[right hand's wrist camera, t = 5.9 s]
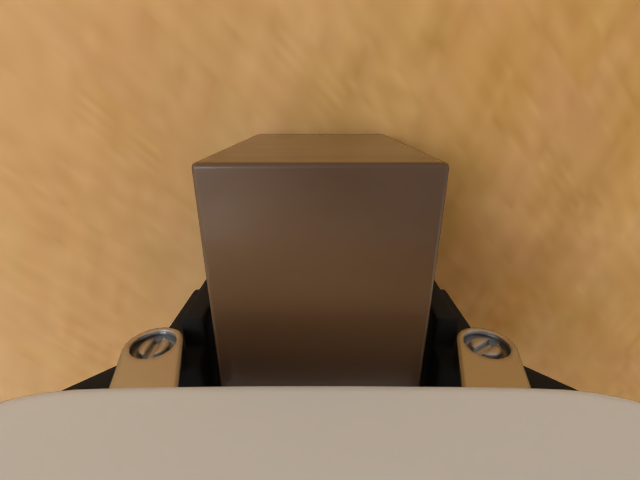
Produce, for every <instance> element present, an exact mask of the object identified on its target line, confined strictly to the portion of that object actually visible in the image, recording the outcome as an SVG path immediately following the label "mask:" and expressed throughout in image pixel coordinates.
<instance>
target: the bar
mask: <svg viewBox="0 0 640 480" xmlns="http://www.w3.org/2000/svg"><path fill="white" fill-rule="evenodd" d="M448 172H449V166H448V164H447V163H445V162H443V161H441V160H438V159H436V158H434V157H432V156H429V155H427V154H425V153H423V152H421V151H418V150H416V149H414V148H412V147H409V146H407V145H405V144H403V143H400V142H398V141H396V140H394V139H392V138H389V137H387V136H385V135H383V134H258V135H256V136H254V137H251V138H249V139H247V140H245V141H242V142H240V143H238V144H236V145H234V146H231V147H229V148H227V149H225V150H222V151H220V152H218V153H216V154H214V155H211V156H209V157H207V158H205V159H202V160H200V161H198V162H196V163H194V164H193V165H192V173H193V180H194V188H195V195H196V203H197V210H198V218H199V225H200V233H201V240H202V247H203V255H204V262H205V270H206V277H207V285H208V292H209V300H210V307H211V315H212V322H213V330H214V337H215V344H216V352H217V359H218V367H219V374H220V382H221V387H242V386H386V387H420V379H421V372H422V364H423V357H424V350H425V342H426V335H427V327H428V320H429V313H430V305H431V298H432V290H433V283H434V276H435V268H436V261H437V253H438V246H439V239H440V231H441V224H442V216H443V209H444V202H445V194H446V187H447V179H448Z"/></svg>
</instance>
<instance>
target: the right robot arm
mask: <svg viewBox="0 0 640 480" xmlns="http://www.w3.org/2000/svg"><path fill="white" fill-rule="evenodd" d="M0 480H640V402H636V401H632V400H629V399H625V398H621V397H616V396H610V395H604V394H599V393H593V392H584V391H578V390H576V389H573V388H571V387H569V386H567V385H565V384H562V383H560V382H558V381H556V380H554V379H551V378H549V377H547V376H545V375H542V374H540V373H538V372H536V371H534V370H531V369H529V368H527V367H525V366H523V364H522V361H521V358H520V355H519V352H518V350H517V348H516V346H515V345H514V343H513V342H512V341H510V340H509V339H508V338H507V337H505V336H503V335H502V334H500V333H497V332H495V331H492V330H488V329H484V328H471V327H470V326H469V325H468V323H467V322H466V320H465V319H464V317H463V316H462V314H461V313H460V311H459V310H458V308H457V307H456V305H455V304H454V303H453V301H452V300H451V298H450V297H449V295H448V294H447V292H446V291H445V290H440V288H439V287H438V285H437V284H436V282H435V281H434V283H433V290H432V298H431V305H430V313H429V320H428V327H427V335H426V342H425V350H424V357H423V364H422V372H421V379H420V387H386V386H242V387H221V382H220V374H219V367H218V359H217V352H216V344H215V337H214V330H213V322H212V315H211V307H210V300H209V292H208V285H207V279H206V281H205V282H204V284H203V285H202V287H201V288H200V290H195V291H194V292H193V294H192V295H191V297H190V298H189V300H188V301H187V303H186V304H185V305H184V307H183V308H182V310H181V311H180V313H179V314H178V316H177V317H176V319H175V320H174V322H173V323H172V325H171V326H170V327H169V328H156V329H152V330H148V331H145V332H143V333H140V334H138V335H137V336H135V337H133V338H132V339H131V340H130V341H128V342H127V343H126V345H125V346H124V348H123V350H122V352H121V355H120V358H119V361H118V364H117V366H115V367H113V368H111V369H109V370H106V371H104V372H102V373H100V374H98V375H95V376H93V377H91V378H89V379H86V380H84V381H82V382H80V383H78V384H75V385H73V386H71V387H69V388H67V389H64V390H62V391H56V392H47V393H41V394H36V395H30V396H24V397H19V398H15V399H11V400H7V401H4V402H0Z"/></svg>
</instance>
